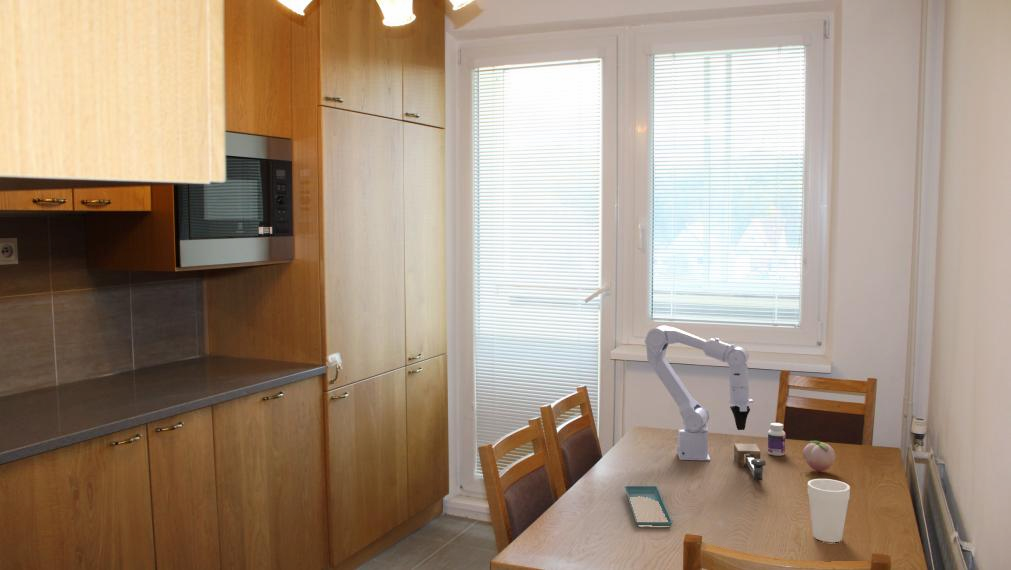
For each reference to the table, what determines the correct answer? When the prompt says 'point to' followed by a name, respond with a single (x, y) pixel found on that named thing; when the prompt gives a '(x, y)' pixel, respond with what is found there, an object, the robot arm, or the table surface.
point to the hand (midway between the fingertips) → (740, 429)
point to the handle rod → (755, 467)
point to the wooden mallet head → (745, 452)
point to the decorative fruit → (819, 455)
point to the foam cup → (828, 508)
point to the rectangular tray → (653, 494)
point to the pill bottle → (776, 440)
